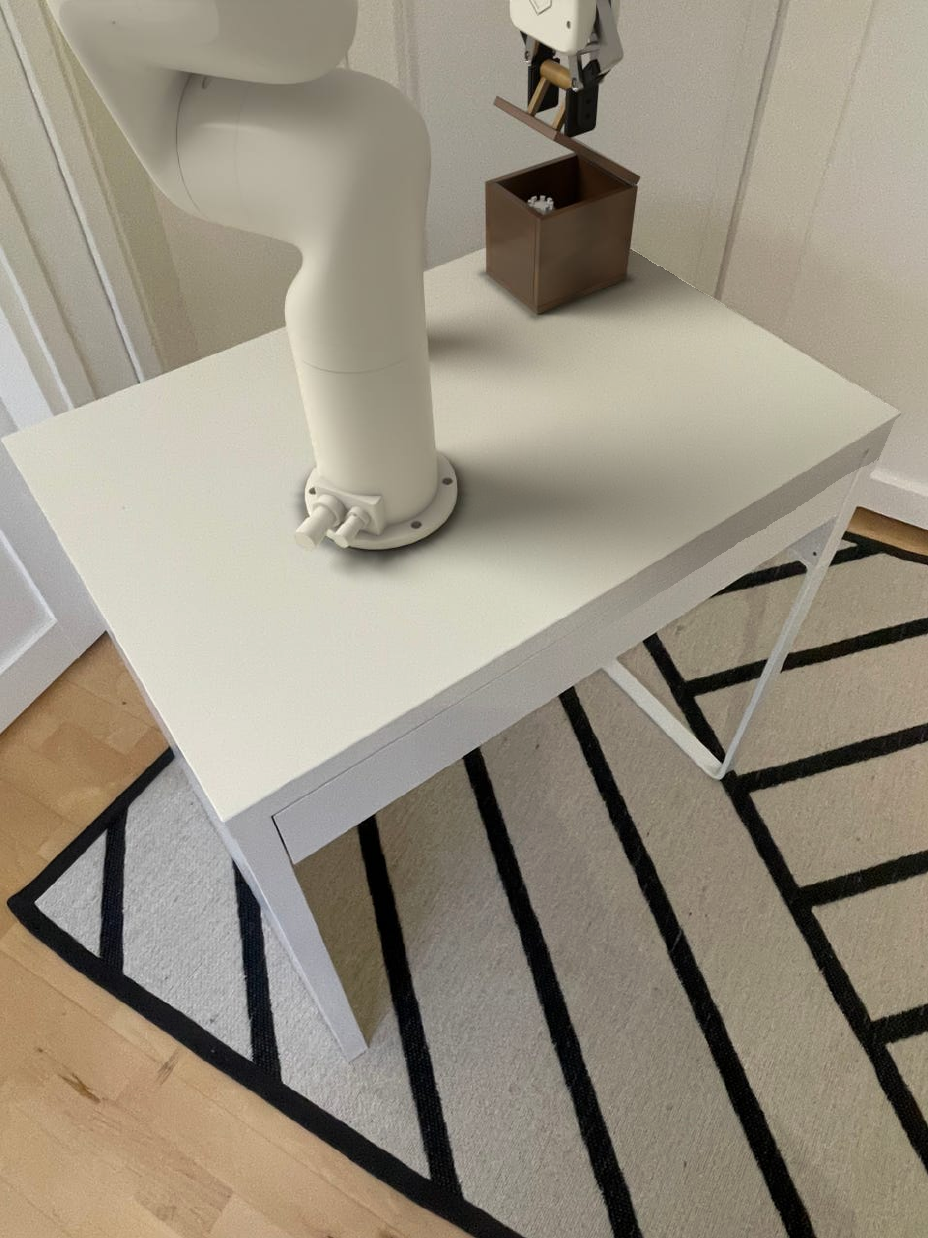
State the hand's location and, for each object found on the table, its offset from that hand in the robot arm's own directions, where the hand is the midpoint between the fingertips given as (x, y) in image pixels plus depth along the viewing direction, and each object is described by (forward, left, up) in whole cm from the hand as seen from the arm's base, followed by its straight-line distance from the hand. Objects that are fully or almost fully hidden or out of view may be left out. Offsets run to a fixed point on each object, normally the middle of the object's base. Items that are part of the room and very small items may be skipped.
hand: (561, 118), depth 79 cm
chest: (0, 0, -16) cm, 16 cm away
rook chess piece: (-2, +1, -15) cm, 15 cm away
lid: (+1, 0, -3) cm, 3 cm away
